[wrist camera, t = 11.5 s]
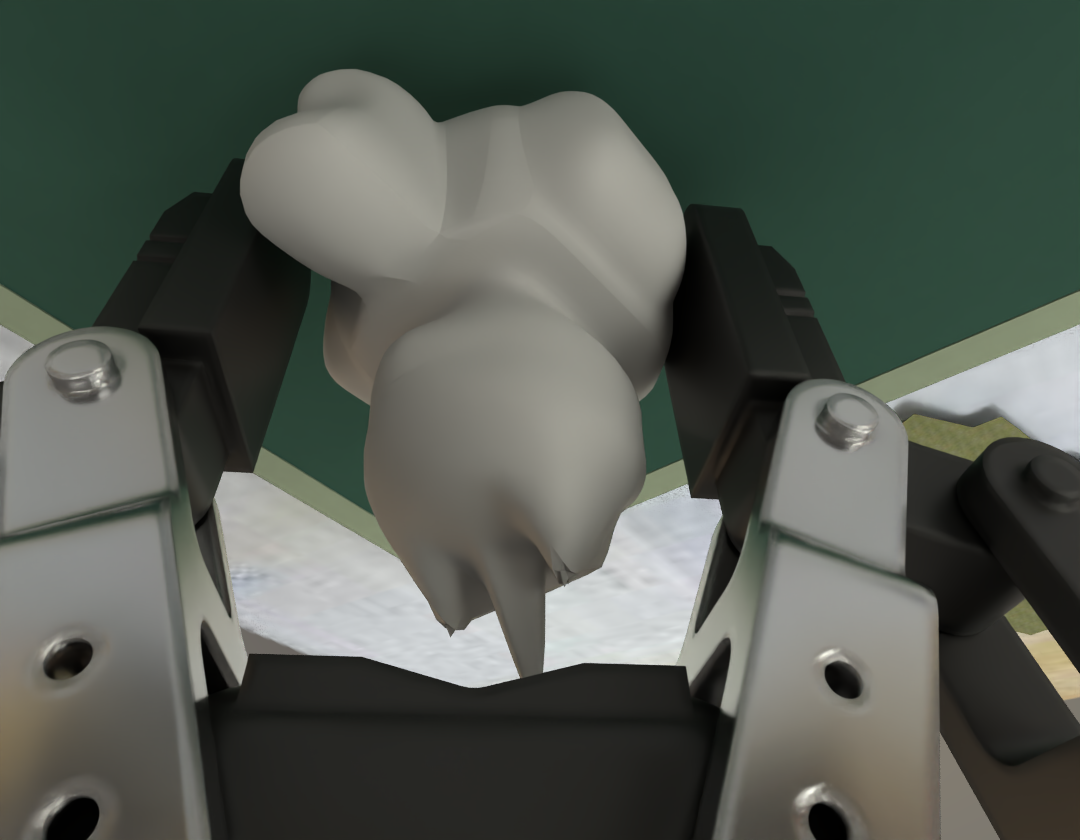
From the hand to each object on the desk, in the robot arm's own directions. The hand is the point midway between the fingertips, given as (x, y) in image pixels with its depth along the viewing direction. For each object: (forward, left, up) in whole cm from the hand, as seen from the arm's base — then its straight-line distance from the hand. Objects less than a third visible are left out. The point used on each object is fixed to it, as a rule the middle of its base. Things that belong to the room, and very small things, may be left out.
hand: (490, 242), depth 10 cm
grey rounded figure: (0, 0, -2) cm, 2 cm away
